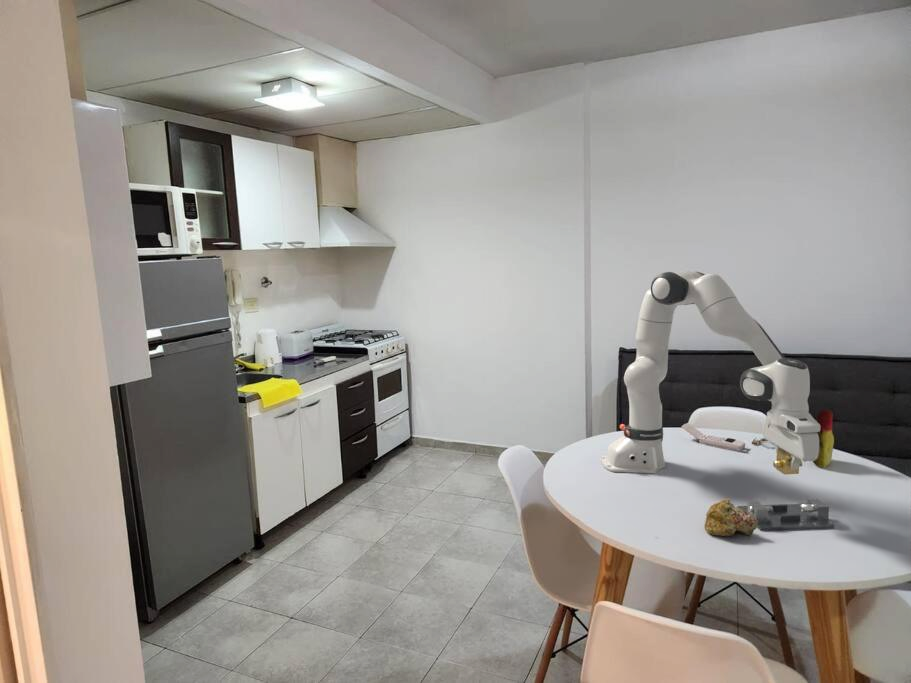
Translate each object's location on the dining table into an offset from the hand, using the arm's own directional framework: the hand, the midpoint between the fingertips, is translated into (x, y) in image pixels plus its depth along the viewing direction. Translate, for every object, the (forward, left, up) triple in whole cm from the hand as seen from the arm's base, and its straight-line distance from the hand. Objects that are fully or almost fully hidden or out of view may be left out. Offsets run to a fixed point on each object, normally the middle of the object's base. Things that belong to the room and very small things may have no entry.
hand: (787, 465), depth 159 cm
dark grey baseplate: (0, 0, -16) cm, 16 cm away
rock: (-20, -7, -16) cm, 26 cm away
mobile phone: (+7, +61, -16) cm, 63 cm away
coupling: (0, 0, -2) cm, 2 cm away
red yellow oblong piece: (+35, +38, -16) cm, 54 cm away
